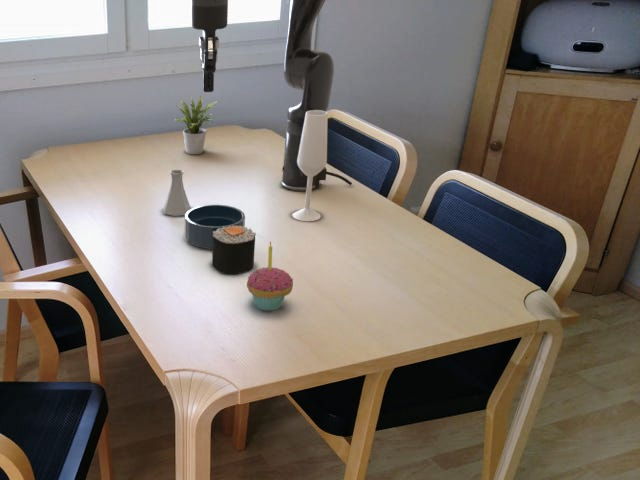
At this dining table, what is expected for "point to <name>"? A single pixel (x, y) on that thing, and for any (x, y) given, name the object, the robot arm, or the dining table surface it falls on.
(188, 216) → the bowl
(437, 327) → the dining table surface
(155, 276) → the dining table surface
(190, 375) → the dining table surface
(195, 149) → the house plant
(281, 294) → the cupcake
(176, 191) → the flask
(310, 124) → the champagne flute
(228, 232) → the sushi
